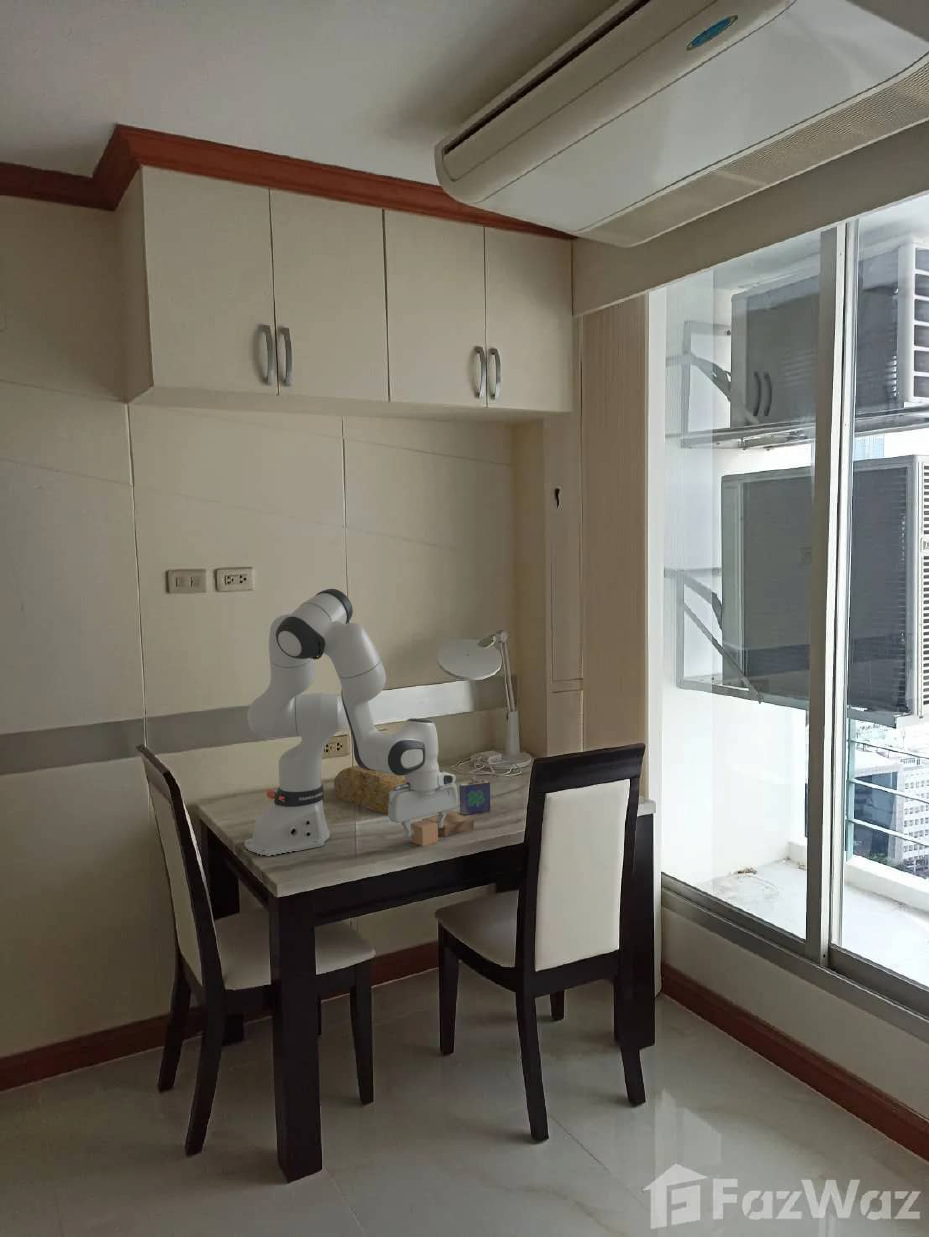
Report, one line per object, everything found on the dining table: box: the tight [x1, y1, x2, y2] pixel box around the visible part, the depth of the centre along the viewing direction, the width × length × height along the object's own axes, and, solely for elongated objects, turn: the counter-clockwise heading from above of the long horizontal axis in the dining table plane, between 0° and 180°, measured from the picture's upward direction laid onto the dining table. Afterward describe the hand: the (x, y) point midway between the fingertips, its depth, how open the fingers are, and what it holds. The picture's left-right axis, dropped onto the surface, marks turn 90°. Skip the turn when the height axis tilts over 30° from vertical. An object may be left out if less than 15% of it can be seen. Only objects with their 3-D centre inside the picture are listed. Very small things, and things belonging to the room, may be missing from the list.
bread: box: [333, 764, 406, 815], centre depth 279 cm, size 36×11×10 cm, turn 42°
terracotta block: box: [410, 818, 439, 847], centre depth 243 cm, size 5×5×5 cm
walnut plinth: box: [421, 810, 475, 838], centre depth 253 cm, size 10×10×3 cm
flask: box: [458, 775, 491, 817], centre depth 265 cm, size 9×3×11 cm, turn 109°
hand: (424, 831), depth 241 cm, fingers open, 8 cm apart
